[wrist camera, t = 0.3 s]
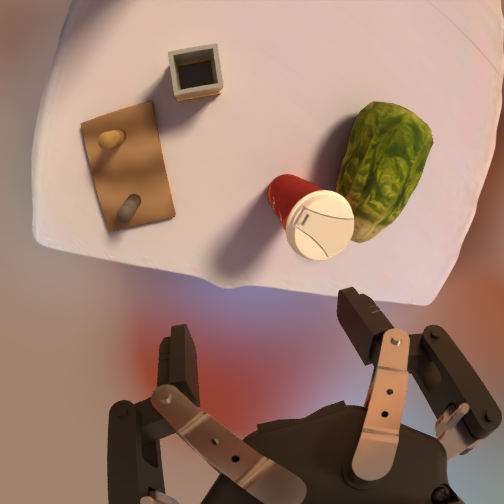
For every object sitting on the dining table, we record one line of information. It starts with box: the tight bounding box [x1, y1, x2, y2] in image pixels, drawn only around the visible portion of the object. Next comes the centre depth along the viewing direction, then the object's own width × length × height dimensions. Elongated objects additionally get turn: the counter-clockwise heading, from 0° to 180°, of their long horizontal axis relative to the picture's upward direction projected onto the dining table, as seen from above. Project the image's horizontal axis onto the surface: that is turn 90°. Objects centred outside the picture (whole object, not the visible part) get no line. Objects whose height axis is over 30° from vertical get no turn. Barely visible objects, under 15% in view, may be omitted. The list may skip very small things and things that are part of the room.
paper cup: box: [268, 174, 354, 260], centre depth 34 cm, size 8×8×14 cm
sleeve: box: [168, 44, 223, 101], centre depth 27 cm, size 6×6×7 cm
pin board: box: [81, 101, 175, 232], centre depth 31 cm, size 16×10×7 cm, turn 8°
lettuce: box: [336, 102, 433, 243], centre depth 35 cm, size 12×21×11 cm, turn 161°
